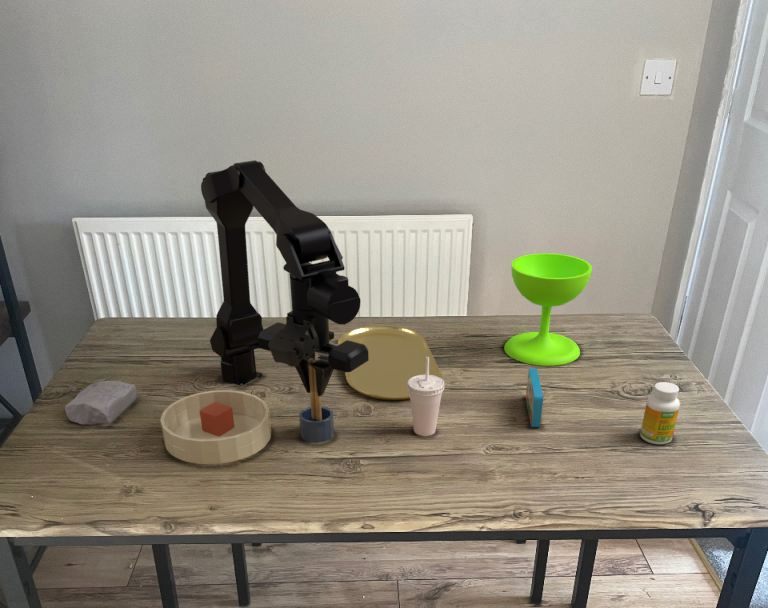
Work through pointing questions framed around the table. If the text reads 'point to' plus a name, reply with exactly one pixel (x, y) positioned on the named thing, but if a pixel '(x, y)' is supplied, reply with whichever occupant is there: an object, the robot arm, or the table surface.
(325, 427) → the holder
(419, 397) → the smoothie
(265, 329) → the robot arm
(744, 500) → the table surface
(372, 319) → the table surface
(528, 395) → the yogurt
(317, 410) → the chopsticks
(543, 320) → the wineglass
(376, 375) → the serving platter
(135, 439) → the table surface
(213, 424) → the block
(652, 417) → the supplement bottle
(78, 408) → the stone block
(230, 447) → the bowl
